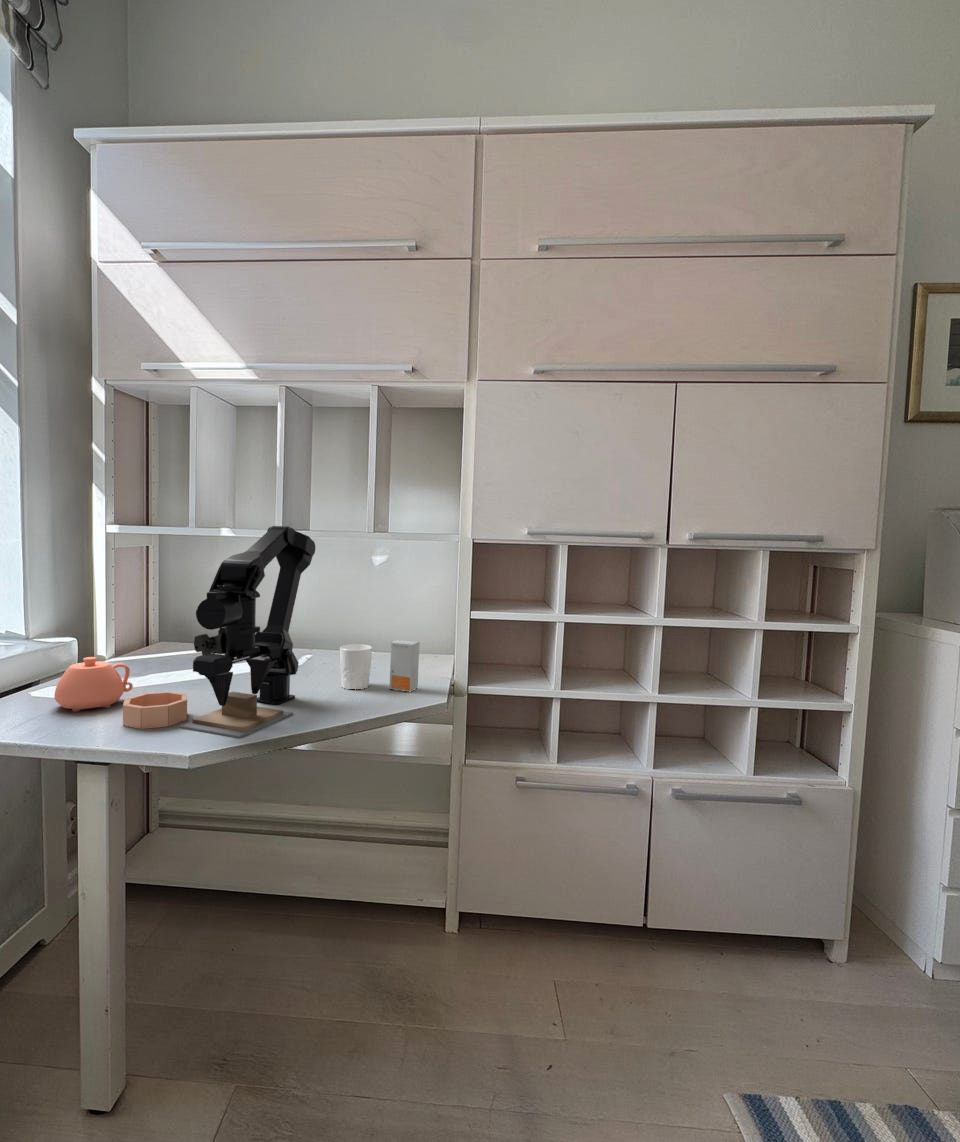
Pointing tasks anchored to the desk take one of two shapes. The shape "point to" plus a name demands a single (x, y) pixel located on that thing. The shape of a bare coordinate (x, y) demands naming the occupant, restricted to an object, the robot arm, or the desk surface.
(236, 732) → the mat
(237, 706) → the cover
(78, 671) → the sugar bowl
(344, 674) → the white cup
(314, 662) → the desk surface
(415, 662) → the skincare box
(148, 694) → the bowl
